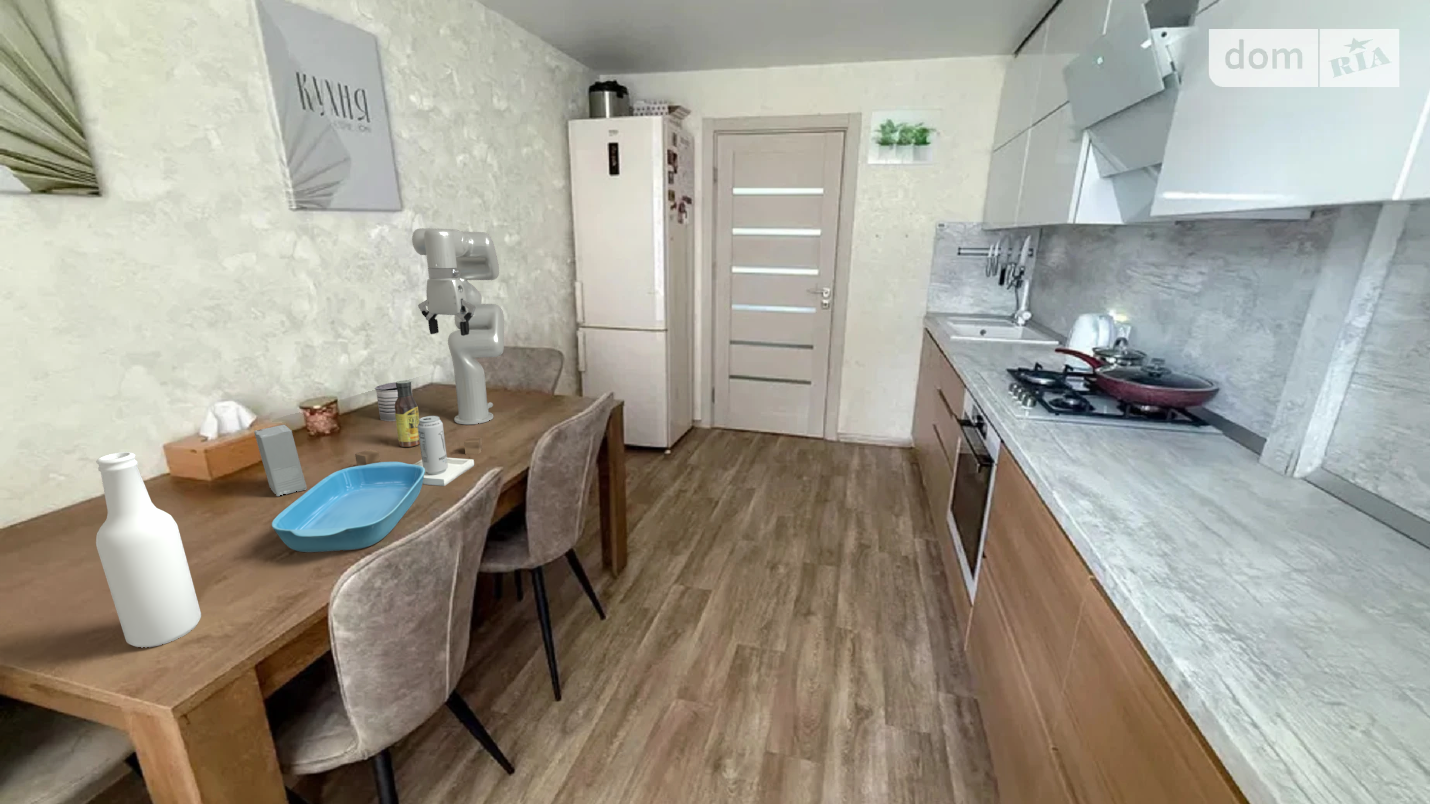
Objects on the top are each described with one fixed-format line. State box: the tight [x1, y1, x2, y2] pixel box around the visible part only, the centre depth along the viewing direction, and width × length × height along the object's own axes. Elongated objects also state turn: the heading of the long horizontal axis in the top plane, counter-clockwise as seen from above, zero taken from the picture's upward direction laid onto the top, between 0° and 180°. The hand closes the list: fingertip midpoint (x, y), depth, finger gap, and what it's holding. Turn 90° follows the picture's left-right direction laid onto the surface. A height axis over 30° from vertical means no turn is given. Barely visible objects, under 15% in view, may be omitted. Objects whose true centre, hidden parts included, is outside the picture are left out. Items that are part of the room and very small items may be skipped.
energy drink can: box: [417, 415, 448, 475], centre depth 151 cm, size 6×6×15 cm
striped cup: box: [374, 381, 413, 422], centre depth 199 cm, size 11×11×12 cm
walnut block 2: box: [463, 436, 483, 455], centre depth 169 cm, size 4×4×4 cm
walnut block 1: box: [354, 448, 381, 466], centre depth 154 cm, size 4×4×5 cm
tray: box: [412, 457, 475, 487], centre depth 153 cm, size 14×14×2 cm
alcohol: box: [95, 451, 202, 649], centre depth 87 cm, size 9×9×30 cm
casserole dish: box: [271, 461, 425, 553], centre depth 127 cm, size 37×22×7 cm, turn 9°
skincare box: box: [253, 424, 308, 497], centre depth 140 cm, size 8×7×16 cm
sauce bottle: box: [395, 379, 420, 448], centre depth 171 cm, size 6×6×20 cm
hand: (449, 334), depth 166 cm, fingers open, 9 cm apart
